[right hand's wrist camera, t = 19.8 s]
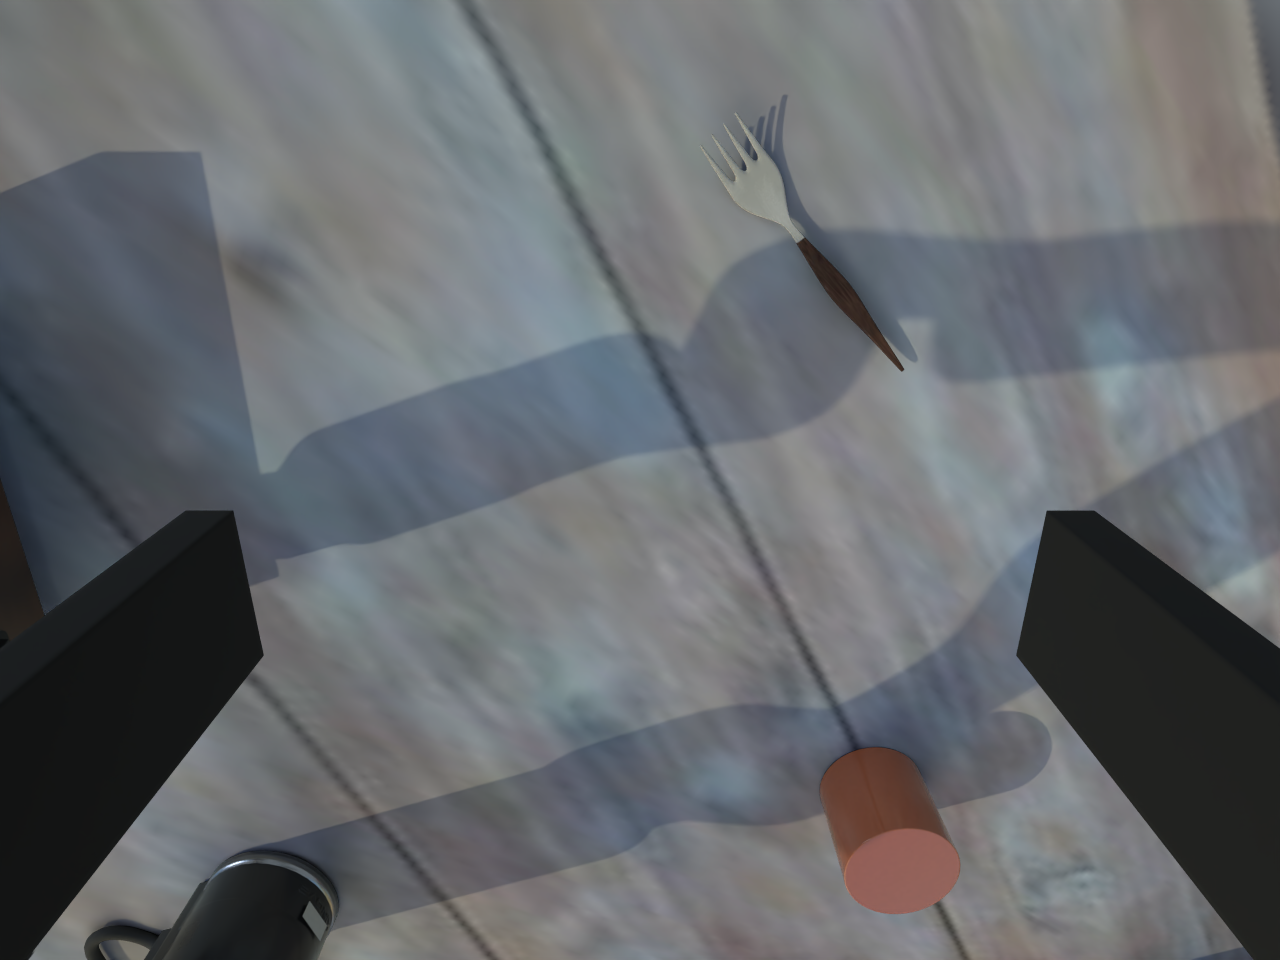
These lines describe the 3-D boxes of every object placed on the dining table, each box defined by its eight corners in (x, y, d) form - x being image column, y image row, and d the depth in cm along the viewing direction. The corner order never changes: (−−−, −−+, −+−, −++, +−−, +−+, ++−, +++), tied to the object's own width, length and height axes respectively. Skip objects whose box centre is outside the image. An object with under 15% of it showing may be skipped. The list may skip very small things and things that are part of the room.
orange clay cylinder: (865, 730, 52) (898, 810, 45) (942, 777, 53) (985, 861, 47) (798, 797, 54) (820, 883, 47) (874, 841, 55) (906, 930, 49)
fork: (880, 384, 43) (891, 393, 41) (693, 150, 38) (696, 148, 37) (919, 353, 42) (932, 361, 40) (734, 111, 38) (739, 108, 36)
